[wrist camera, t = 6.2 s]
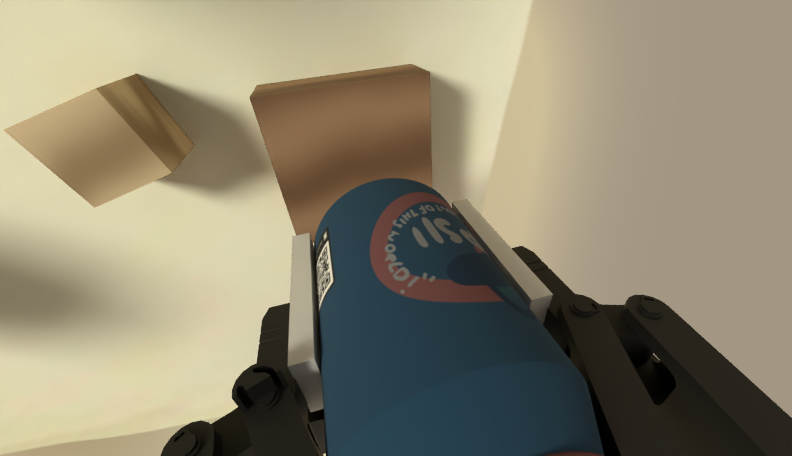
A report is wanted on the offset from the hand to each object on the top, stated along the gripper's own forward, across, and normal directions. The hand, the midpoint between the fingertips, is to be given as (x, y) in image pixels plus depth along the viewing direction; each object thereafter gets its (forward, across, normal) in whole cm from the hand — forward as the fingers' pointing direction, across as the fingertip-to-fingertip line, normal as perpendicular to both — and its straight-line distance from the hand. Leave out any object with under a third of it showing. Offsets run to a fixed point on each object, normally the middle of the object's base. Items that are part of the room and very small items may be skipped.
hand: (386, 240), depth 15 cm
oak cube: (+13, -14, +4) cm, 19 cm away
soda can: (+1, 0, 0) cm, 1 cm away
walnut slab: (+13, 0, 0) cm, 13 cm away
